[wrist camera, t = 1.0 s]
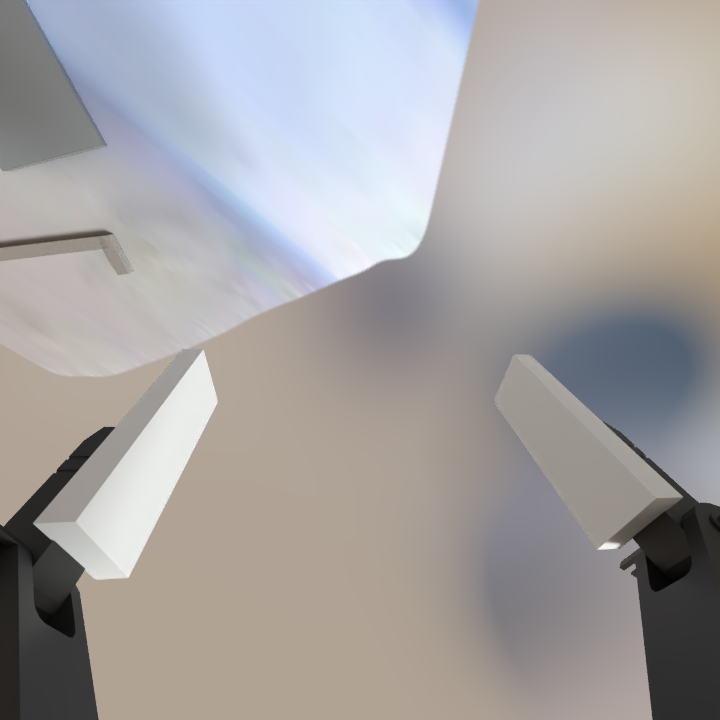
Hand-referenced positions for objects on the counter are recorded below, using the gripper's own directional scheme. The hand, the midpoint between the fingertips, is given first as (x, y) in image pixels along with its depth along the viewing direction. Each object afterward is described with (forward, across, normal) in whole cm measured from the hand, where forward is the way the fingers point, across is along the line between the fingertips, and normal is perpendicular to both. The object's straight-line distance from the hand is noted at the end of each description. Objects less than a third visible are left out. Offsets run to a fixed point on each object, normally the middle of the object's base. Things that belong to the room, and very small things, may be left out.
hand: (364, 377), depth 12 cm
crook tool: (+25, -31, -3) cm, 40 cm away
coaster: (+25, -29, +12) cm, 40 cm away
